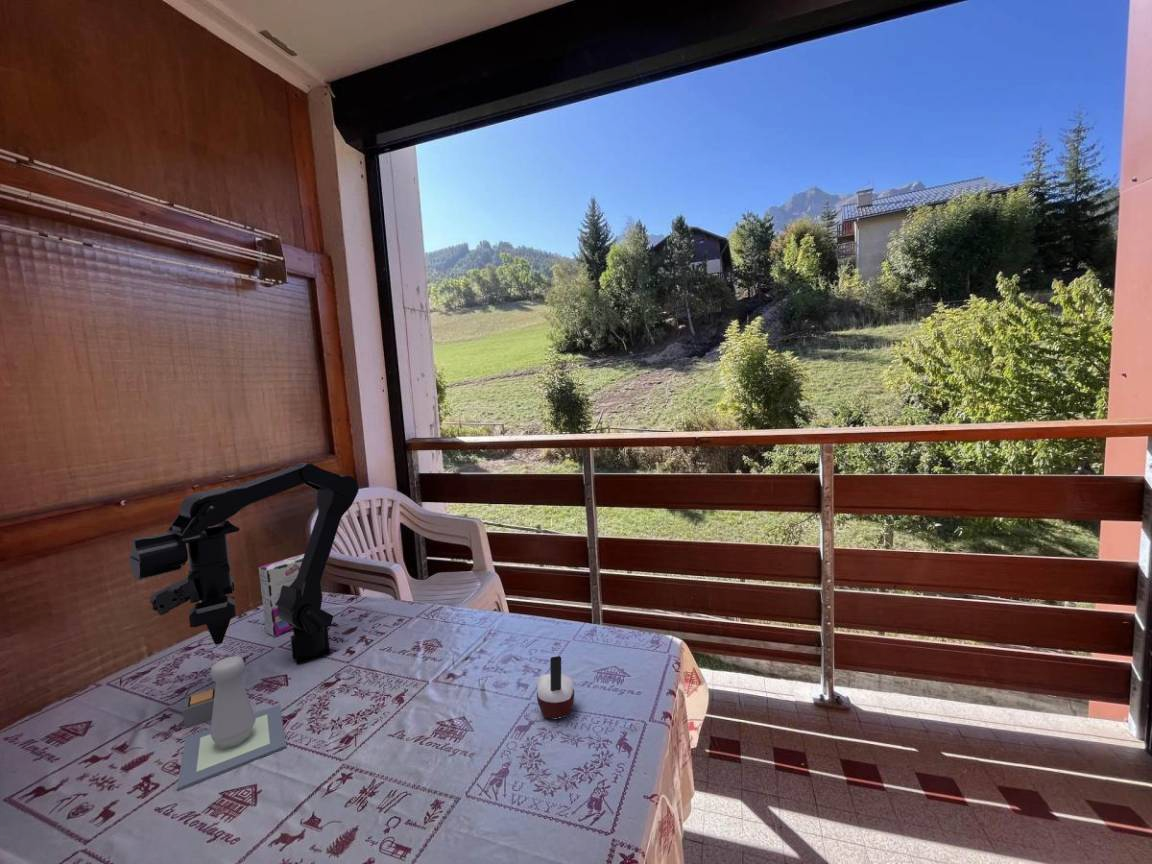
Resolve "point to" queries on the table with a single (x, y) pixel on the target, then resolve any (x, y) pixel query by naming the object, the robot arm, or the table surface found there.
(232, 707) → the salt shaker
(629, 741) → the table surface
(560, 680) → the cocoa
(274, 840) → the table surface
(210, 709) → the button housing
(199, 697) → the push button
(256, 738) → the grey flat square slab
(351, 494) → the robot arm
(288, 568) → the candy bar box
